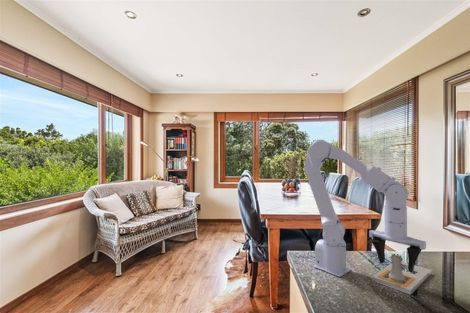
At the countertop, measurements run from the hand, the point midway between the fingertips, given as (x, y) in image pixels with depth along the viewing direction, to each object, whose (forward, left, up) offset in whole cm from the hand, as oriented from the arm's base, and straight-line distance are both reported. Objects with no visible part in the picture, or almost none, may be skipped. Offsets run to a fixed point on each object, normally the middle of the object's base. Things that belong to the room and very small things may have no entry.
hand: (395, 266), depth 73 cm
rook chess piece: (0, 0, -5) cm, 5 cm away
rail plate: (0, +5, -5) cm, 7 cm away
